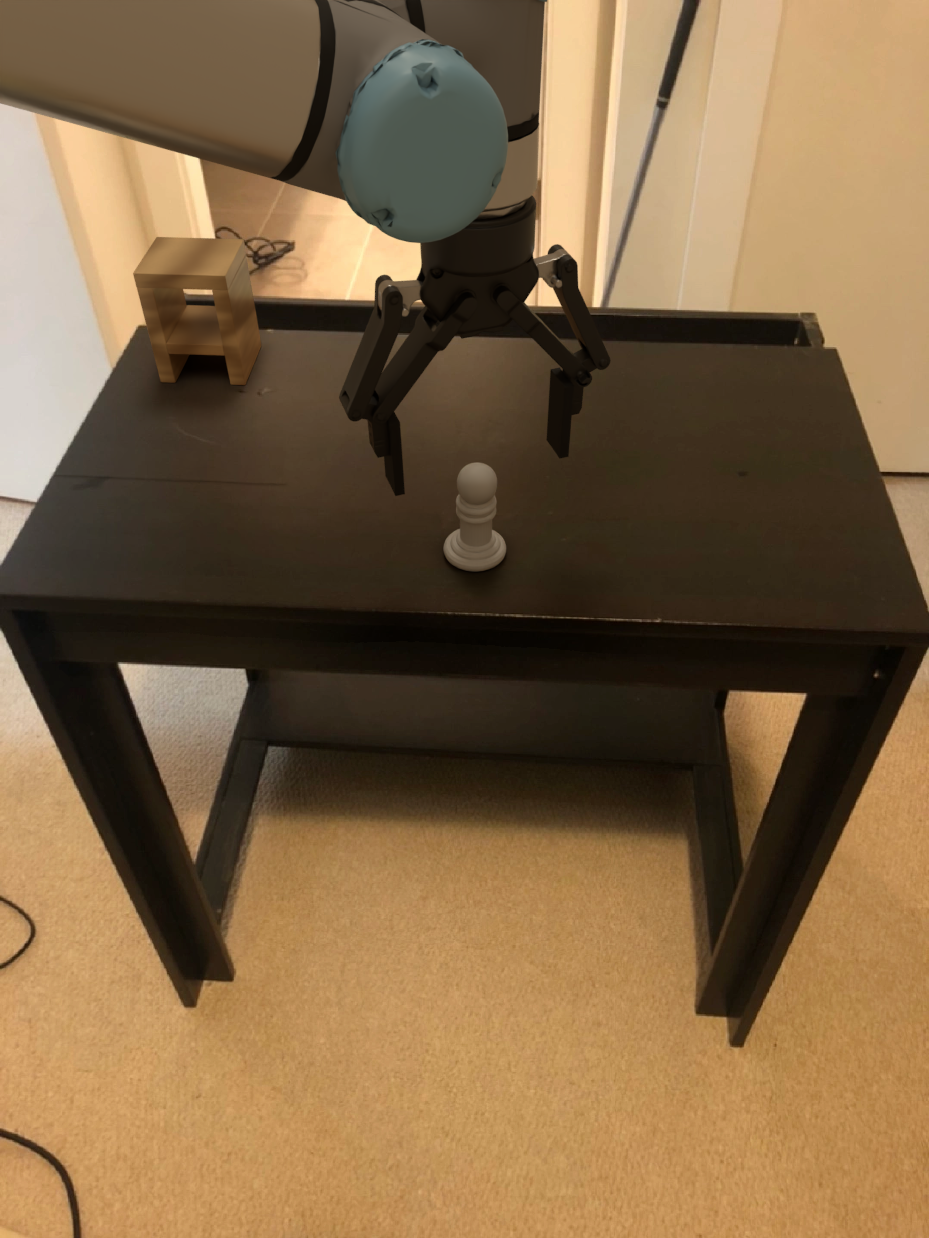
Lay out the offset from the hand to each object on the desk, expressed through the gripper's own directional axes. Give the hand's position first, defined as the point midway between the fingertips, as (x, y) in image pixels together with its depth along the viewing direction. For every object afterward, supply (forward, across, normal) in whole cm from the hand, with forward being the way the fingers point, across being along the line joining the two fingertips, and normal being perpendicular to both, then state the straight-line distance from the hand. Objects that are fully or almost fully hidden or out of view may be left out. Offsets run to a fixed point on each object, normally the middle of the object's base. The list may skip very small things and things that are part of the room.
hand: (477, 466), depth 77 cm
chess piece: (+9, 0, 0) cm, 9 cm away
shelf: (+9, +16, -38) cm, 42 cm away
